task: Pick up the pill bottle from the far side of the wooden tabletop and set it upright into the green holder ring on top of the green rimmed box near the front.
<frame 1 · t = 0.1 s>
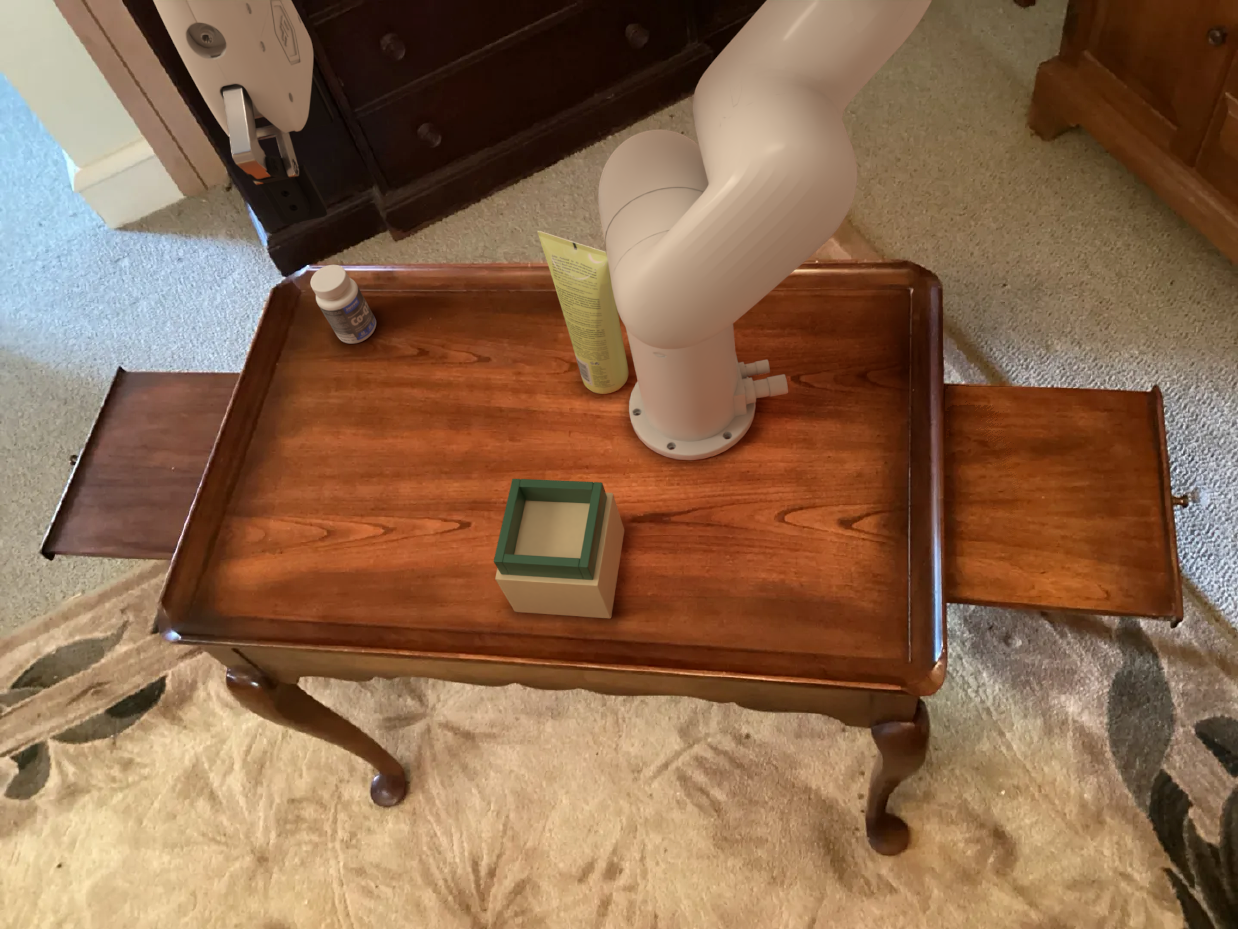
hand: (310, 169, 67), 37 cm above the table, tool pointing down, fingers open, 9 cm apart
pill bottle: (358, 329, 110), on the table
green rimmed box: (570, 570, 89), on the table
tube: (607, 378, 101), on the table
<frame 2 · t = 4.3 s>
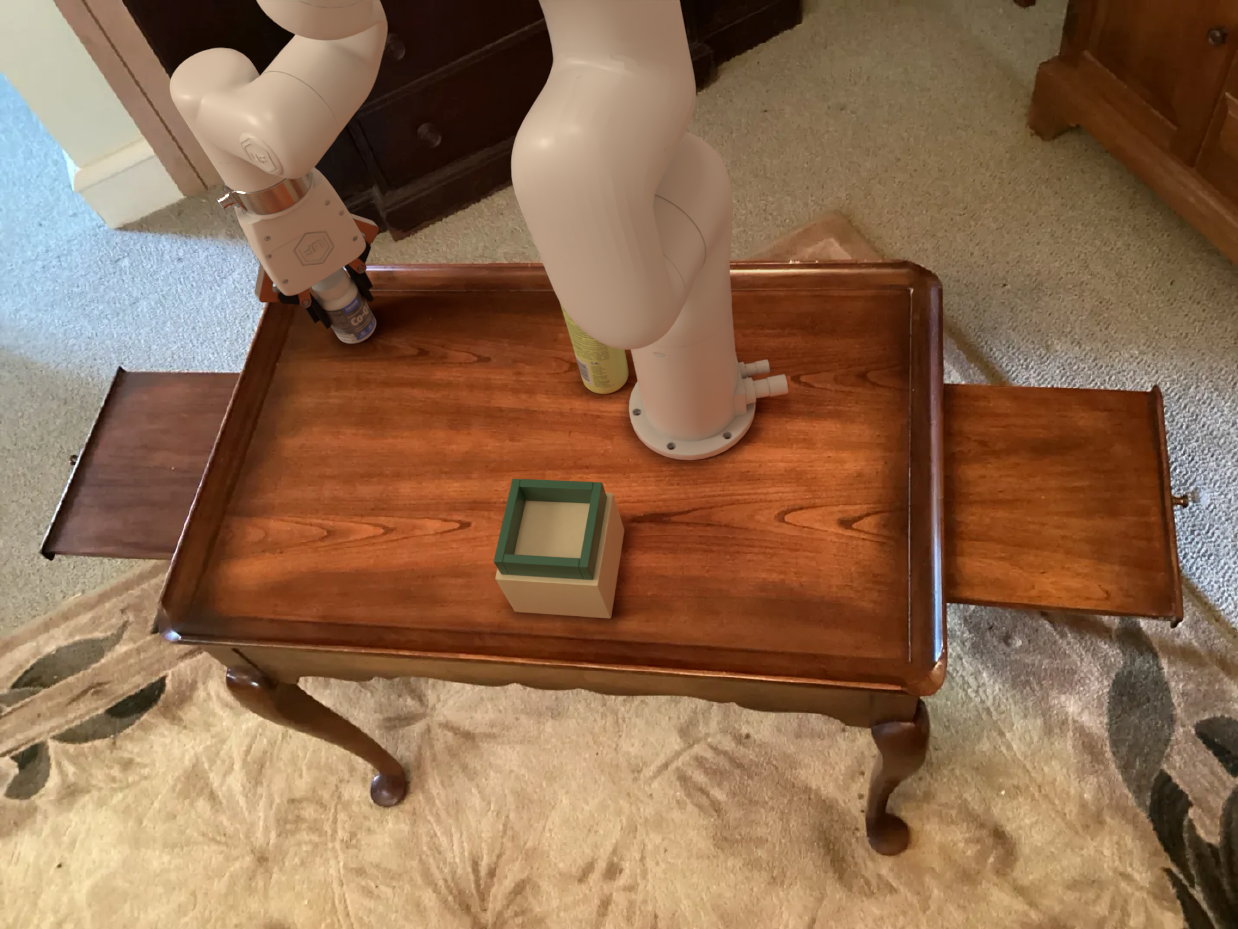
hand: (344, 306, 106), 4 cm above the table, tool pointing down, fingers closed on pill bottle, 4 cm apart
pill bottle: (358, 329, 110), on the table, touching gripper
everything else where it was.
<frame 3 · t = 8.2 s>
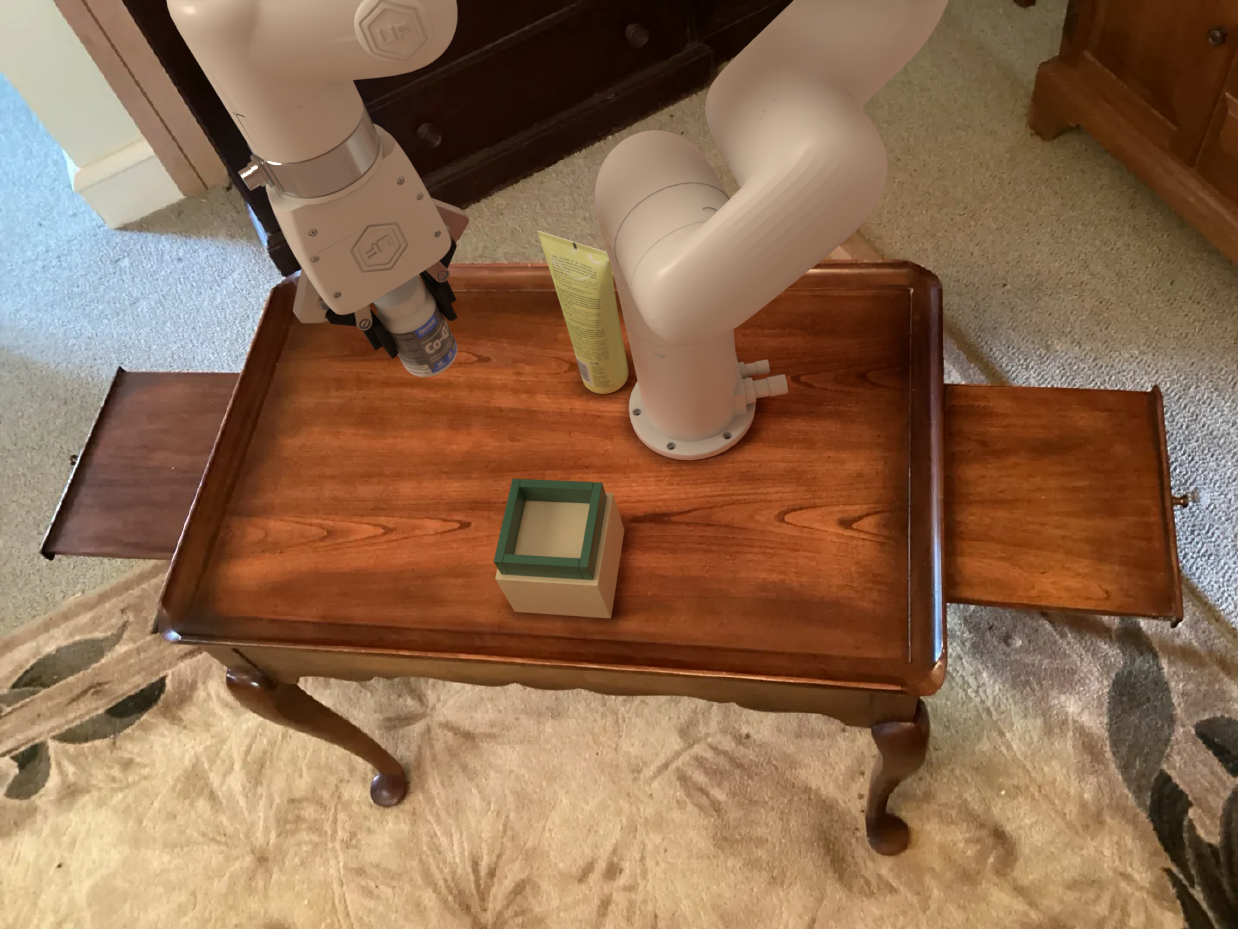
hand: (416, 327, 77), 23 cm above the table, tool pointing down, fingers closed on pill bottle, 4 cm apart
pill bottle: (432, 357, 80), point 19 cm above the table, touching gripper
everything else where it was.
when the fingers open (11 cm above the table, at t = 12.5 s): pill bottle stays where it is, resting on green rimmed box.
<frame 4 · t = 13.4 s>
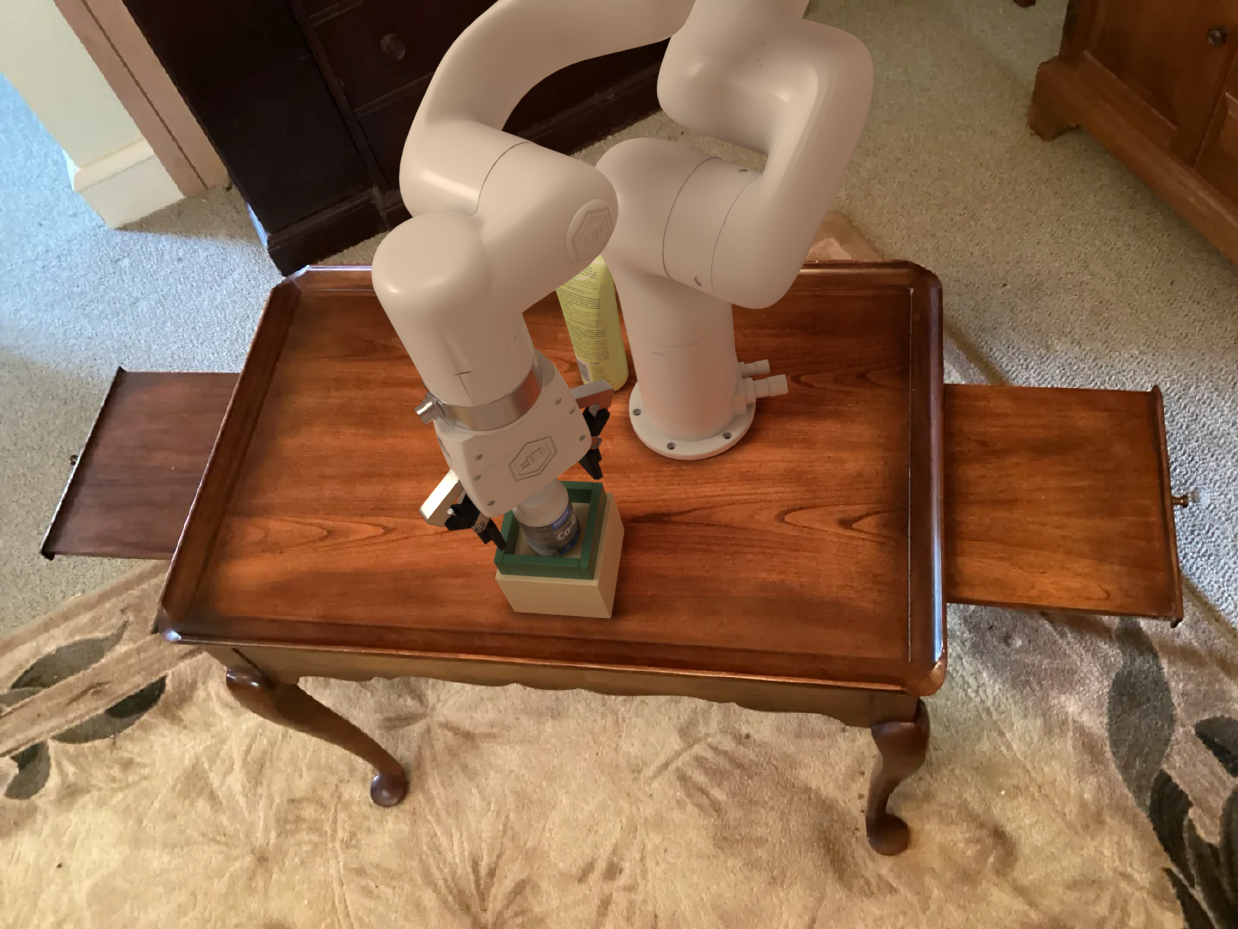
hand: (542, 502, 79), 12 cm above the table, tool pointing down, fingers open, 9 cm apart
pill bottle: (555, 536, 83), point 7 cm above the table, touching green rimmed box
everything else where it was.
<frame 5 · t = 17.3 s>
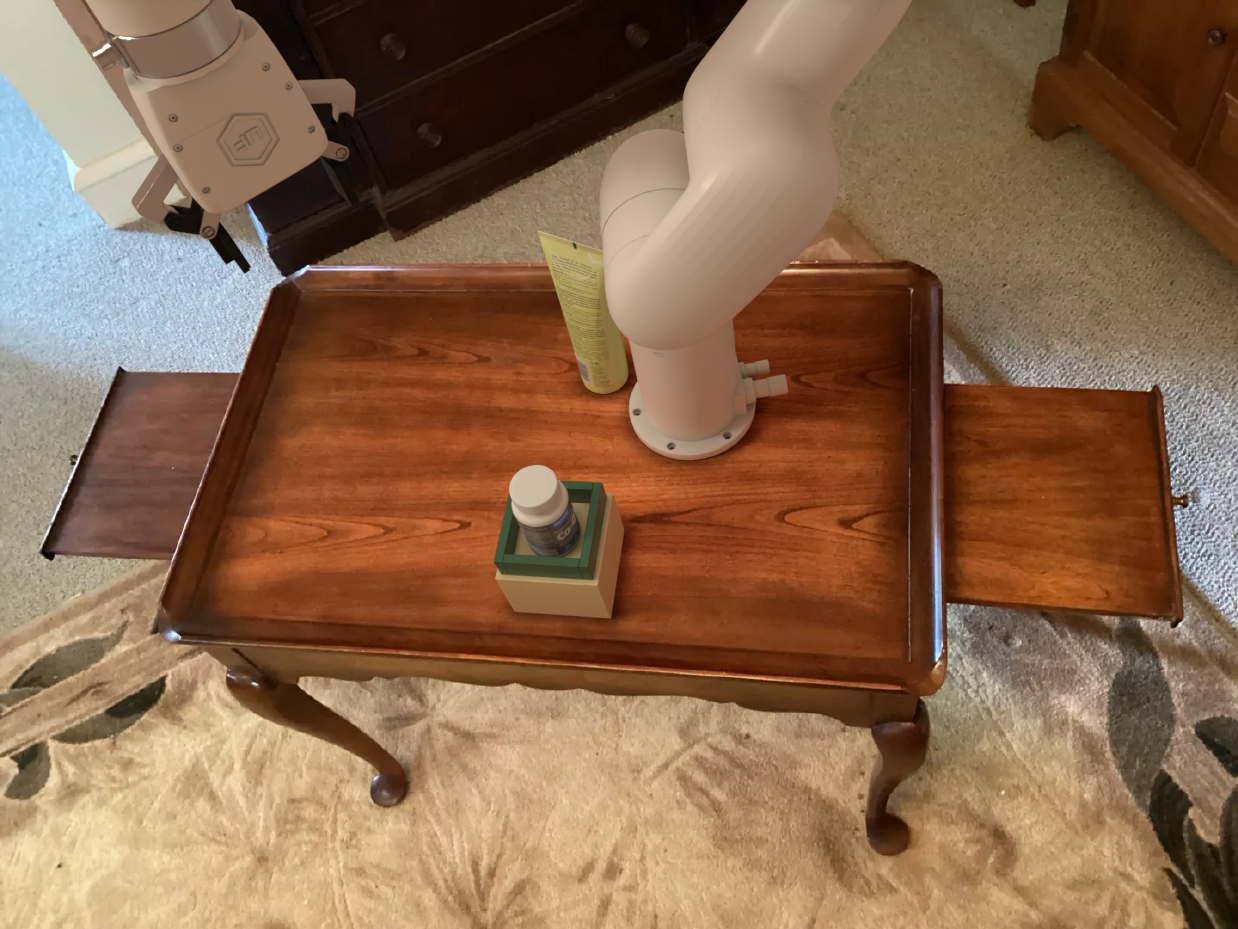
hand: (295, 229, 74), 30 cm above the table, tool pointing down, fingers open, 9 cm apart
nothing on the table moved.
at the end: pill bottle 0.0 cm off-centre on the green rimmed box, point 6.8 cm above the green rimmed box's base; pill bottle tilted 0° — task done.
